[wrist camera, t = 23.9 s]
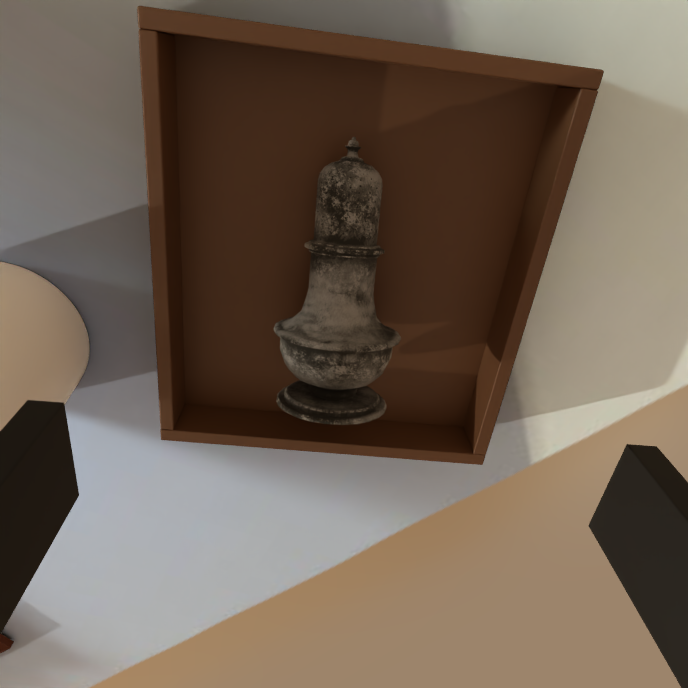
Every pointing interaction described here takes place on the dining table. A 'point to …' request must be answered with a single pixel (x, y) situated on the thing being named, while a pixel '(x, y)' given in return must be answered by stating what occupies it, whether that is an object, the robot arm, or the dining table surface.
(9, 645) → the chocolate bar
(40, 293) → the candle holder
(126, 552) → the dining table surface
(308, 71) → the tray
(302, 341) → the salt shaker
